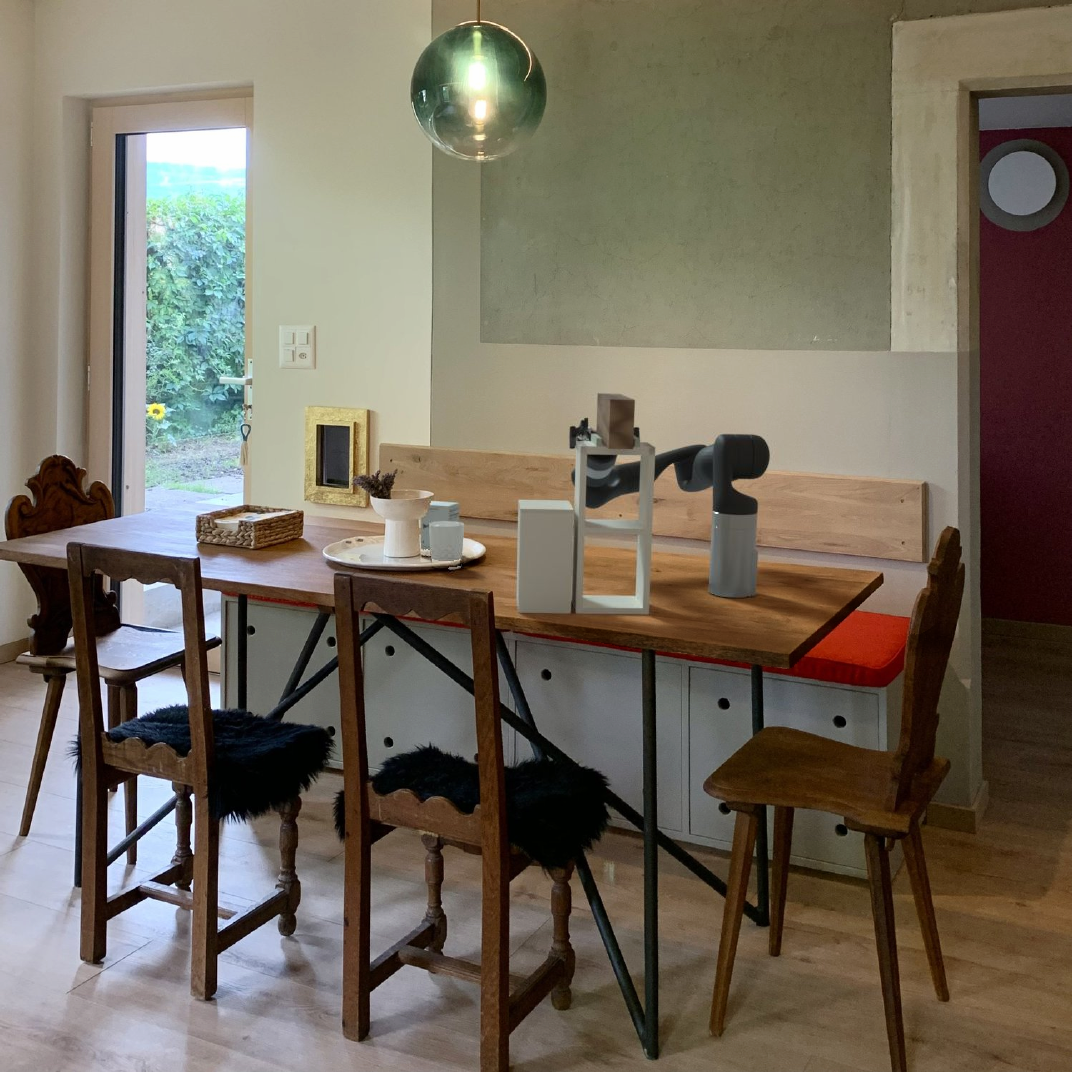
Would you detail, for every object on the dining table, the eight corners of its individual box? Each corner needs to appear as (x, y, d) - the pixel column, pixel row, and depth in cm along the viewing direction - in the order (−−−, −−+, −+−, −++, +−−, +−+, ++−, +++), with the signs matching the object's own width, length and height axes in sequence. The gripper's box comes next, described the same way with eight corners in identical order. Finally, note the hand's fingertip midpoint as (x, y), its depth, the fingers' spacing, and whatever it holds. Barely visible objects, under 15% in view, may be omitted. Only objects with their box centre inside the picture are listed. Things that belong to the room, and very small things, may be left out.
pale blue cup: (432, 571, 266) (432, 526, 265) (425, 564, 274) (426, 521, 272) (466, 569, 269) (467, 526, 267) (459, 563, 276) (460, 520, 274)
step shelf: (639, 599, 242) (646, 434, 236) (648, 614, 229) (655, 439, 223) (516, 598, 240) (519, 431, 235) (518, 612, 228) (522, 436, 222)
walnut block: (618, 438, 243) (619, 393, 241) (633, 449, 219) (634, 399, 218) (596, 437, 242) (597, 393, 241) (608, 448, 219) (610, 399, 217)
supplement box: (419, 556, 284) (419, 503, 281) (431, 551, 291) (431, 500, 288) (448, 558, 281) (448, 505, 279) (459, 553, 288) (460, 501, 286)
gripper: (632, 472, 253) (643, 439, 238) (565, 471, 252) (572, 438, 237) (631, 439, 256) (642, 405, 240) (565, 438, 255) (571, 404, 239)
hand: (607, 422), depth 239 cm, fingers open, 8 cm apart
